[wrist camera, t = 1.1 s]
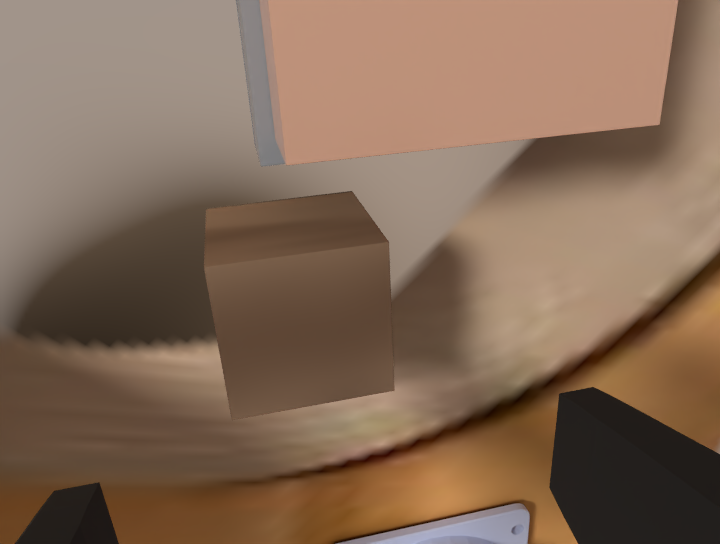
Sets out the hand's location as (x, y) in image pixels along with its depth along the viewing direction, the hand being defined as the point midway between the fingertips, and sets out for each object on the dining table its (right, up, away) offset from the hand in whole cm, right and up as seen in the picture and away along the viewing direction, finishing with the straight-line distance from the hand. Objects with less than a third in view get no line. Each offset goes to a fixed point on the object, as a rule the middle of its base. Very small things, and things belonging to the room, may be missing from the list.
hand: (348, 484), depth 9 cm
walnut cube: (-2, +4, +8) cm, 9 cm away
